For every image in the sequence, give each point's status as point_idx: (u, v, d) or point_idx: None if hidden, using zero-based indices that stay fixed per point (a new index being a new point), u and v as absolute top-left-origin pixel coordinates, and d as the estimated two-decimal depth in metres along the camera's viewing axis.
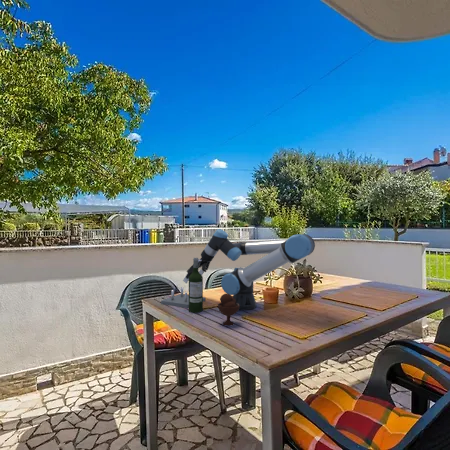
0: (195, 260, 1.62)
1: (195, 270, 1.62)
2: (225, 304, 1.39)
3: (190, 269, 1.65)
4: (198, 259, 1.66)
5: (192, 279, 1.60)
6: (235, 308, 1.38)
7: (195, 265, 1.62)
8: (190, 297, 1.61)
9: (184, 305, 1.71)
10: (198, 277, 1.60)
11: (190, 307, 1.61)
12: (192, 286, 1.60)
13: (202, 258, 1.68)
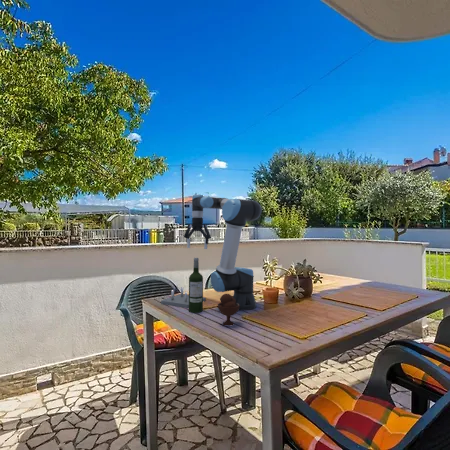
0: (195, 260, 1.63)
1: (195, 270, 1.63)
2: (225, 304, 1.39)
3: None
4: (189, 224, 2.02)
5: (192, 279, 1.61)
6: (235, 308, 1.38)
7: (195, 265, 1.63)
8: (190, 297, 1.61)
9: (184, 305, 1.71)
10: (198, 277, 1.61)
11: (190, 307, 1.61)
12: (192, 286, 1.61)
13: None
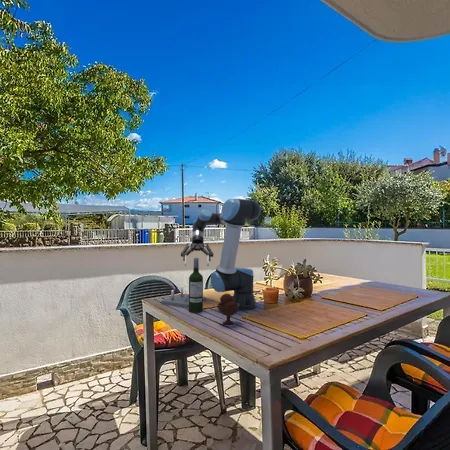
0: (195, 260, 1.63)
1: (195, 270, 1.63)
2: (225, 304, 1.39)
3: None
4: None
5: (192, 279, 1.61)
6: (235, 308, 1.38)
7: (195, 265, 1.63)
8: (190, 297, 1.61)
9: (184, 305, 1.71)
10: (198, 277, 1.61)
11: (190, 307, 1.61)
12: (192, 286, 1.61)
13: None
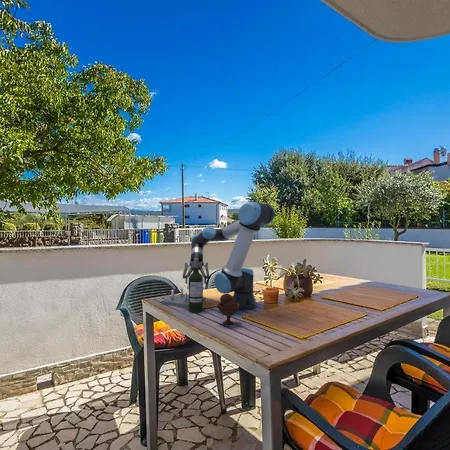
0: (195, 260, 1.63)
1: (195, 270, 1.63)
2: (225, 304, 1.39)
3: (183, 274, 1.67)
4: None
5: (192, 279, 1.61)
6: (235, 308, 1.38)
7: (195, 265, 1.63)
8: (190, 297, 1.61)
9: (184, 305, 1.71)
10: (198, 277, 1.61)
11: (190, 307, 1.61)
12: (192, 286, 1.61)
13: None
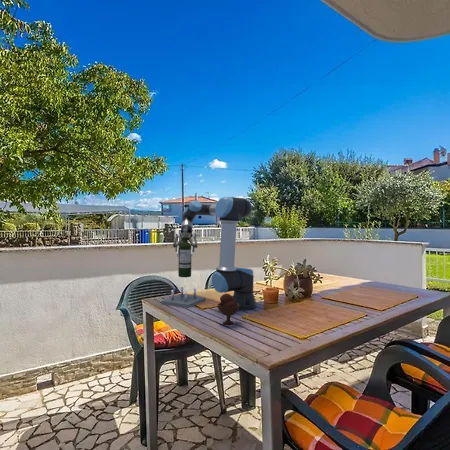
0: (184, 230, 1.81)
1: (184, 239, 1.80)
2: (225, 304, 1.39)
3: None
4: (176, 235, 1.90)
5: (182, 247, 1.78)
6: (235, 308, 1.38)
7: (184, 235, 1.81)
8: (180, 263, 1.79)
9: (184, 305, 1.71)
10: (187, 245, 1.79)
11: (179, 272, 1.79)
12: (181, 253, 1.78)
13: None
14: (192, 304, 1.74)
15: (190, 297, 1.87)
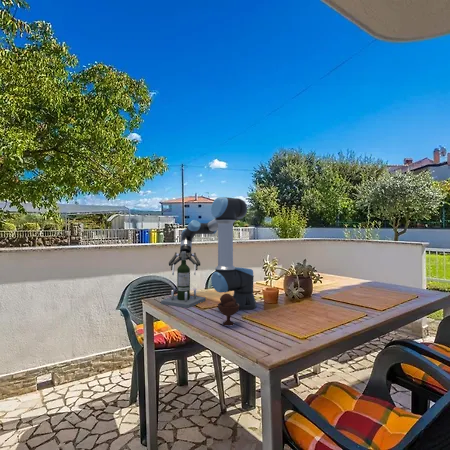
0: (183, 253, 1.82)
1: (183, 262, 1.82)
2: (225, 304, 1.39)
3: None
4: None
5: (180, 270, 1.80)
6: (235, 308, 1.38)
7: (183, 258, 1.82)
8: (178, 286, 1.81)
9: (184, 305, 1.71)
10: (185, 268, 1.81)
11: (178, 295, 1.81)
12: (180, 276, 1.80)
13: None
14: (192, 304, 1.74)
15: (190, 297, 1.87)
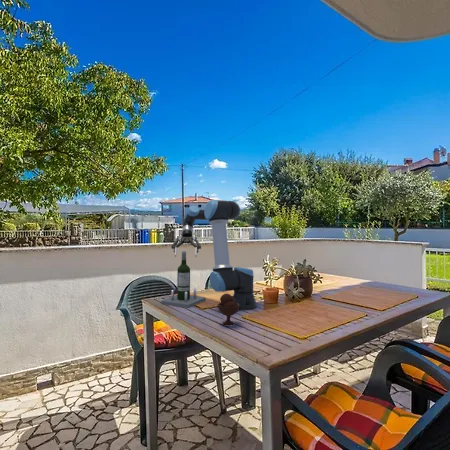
0: (183, 253, 1.82)
1: (183, 262, 1.82)
2: (225, 304, 1.39)
3: None
4: None
5: (180, 270, 1.80)
6: (235, 308, 1.38)
7: (183, 258, 1.82)
8: (178, 286, 1.81)
9: (184, 305, 1.71)
10: (186, 268, 1.81)
11: (178, 295, 1.81)
12: (180, 276, 1.80)
13: (181, 237, 2.06)
14: (192, 304, 1.74)
15: (190, 297, 1.87)
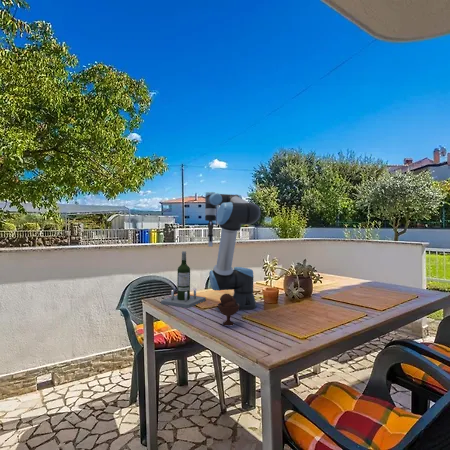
0: (183, 253, 1.82)
1: (183, 262, 1.82)
2: (225, 304, 1.39)
3: None
4: None
5: (180, 270, 1.80)
6: (235, 308, 1.38)
7: (183, 258, 1.82)
8: (178, 286, 1.81)
9: (184, 305, 1.71)
10: (186, 268, 1.81)
11: (178, 295, 1.81)
12: (180, 276, 1.80)
13: None
14: (192, 304, 1.74)
15: (190, 297, 1.87)
